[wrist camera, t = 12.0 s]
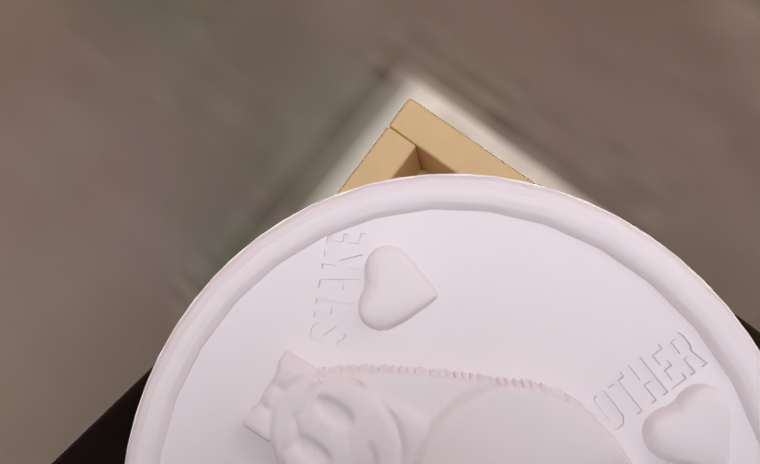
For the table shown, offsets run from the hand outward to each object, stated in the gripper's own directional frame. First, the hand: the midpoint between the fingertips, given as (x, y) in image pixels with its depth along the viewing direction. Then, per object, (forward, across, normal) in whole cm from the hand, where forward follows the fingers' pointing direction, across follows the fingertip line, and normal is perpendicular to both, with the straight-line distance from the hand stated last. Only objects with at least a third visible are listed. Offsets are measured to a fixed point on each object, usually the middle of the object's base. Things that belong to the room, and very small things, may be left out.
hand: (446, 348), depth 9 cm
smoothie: (+4, 0, +6) cm, 7 cm away
